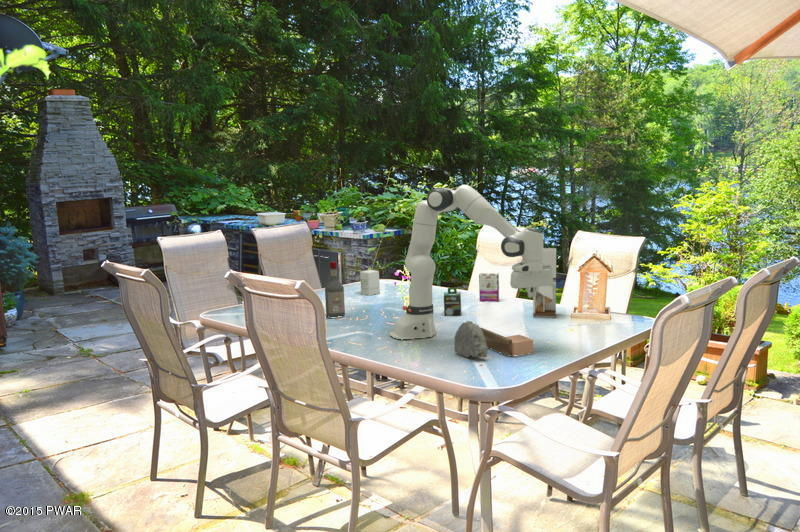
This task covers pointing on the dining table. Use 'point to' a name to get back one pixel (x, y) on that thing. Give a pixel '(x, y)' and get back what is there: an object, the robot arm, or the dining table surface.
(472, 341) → the decorative rock
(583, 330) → the dining table surface
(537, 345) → the dining table surface
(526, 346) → the block
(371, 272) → the supplement box
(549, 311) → the display case
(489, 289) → the candy bar box
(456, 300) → the chalk box
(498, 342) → the board
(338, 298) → the liquor
